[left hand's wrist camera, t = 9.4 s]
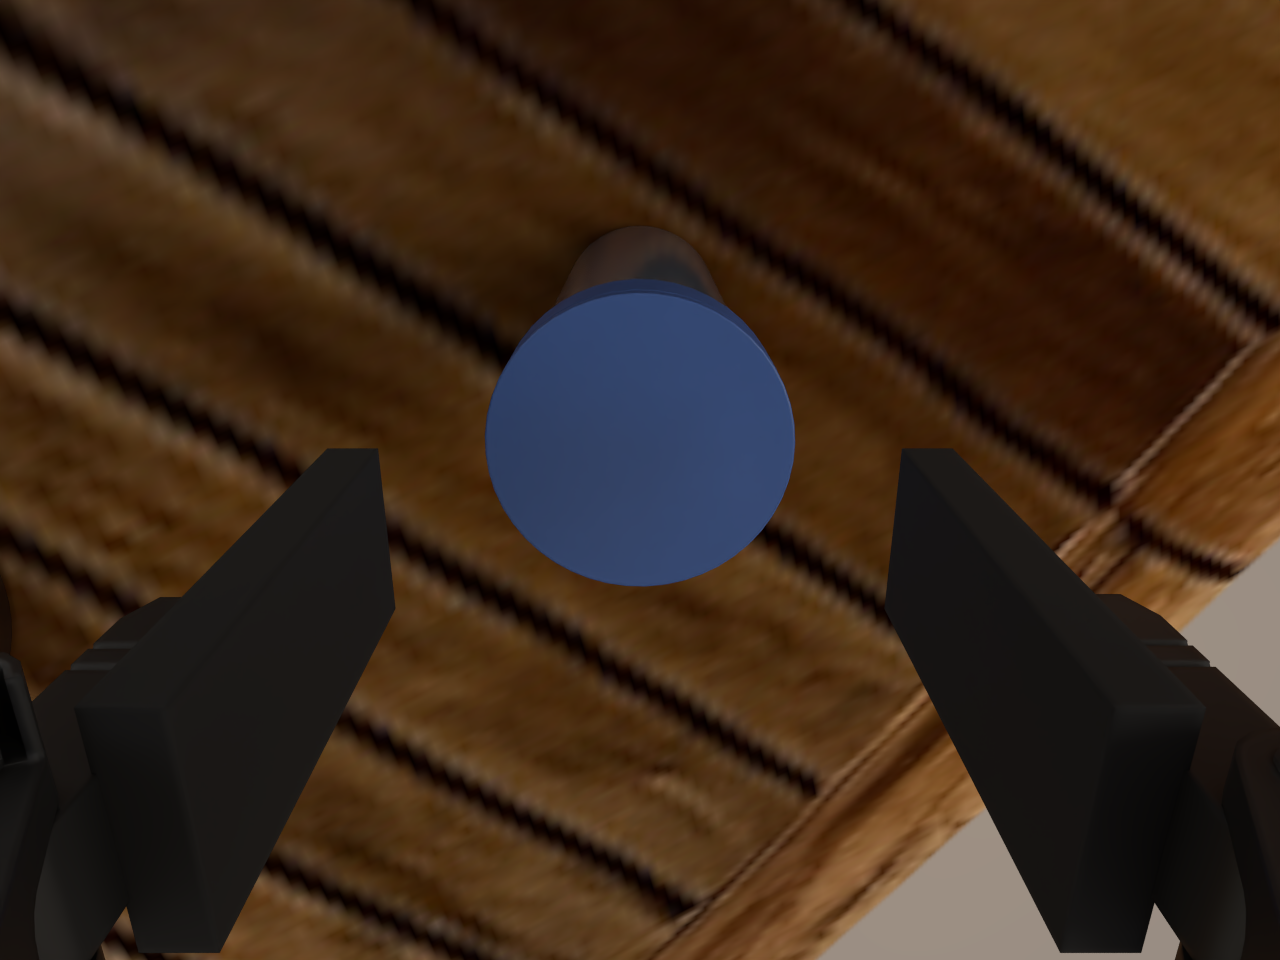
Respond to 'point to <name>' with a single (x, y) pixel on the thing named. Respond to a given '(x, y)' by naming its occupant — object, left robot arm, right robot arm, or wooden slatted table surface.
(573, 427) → the lid
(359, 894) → the wooden slatted table surface
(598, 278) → the jar
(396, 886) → the wooden slatted table surface
